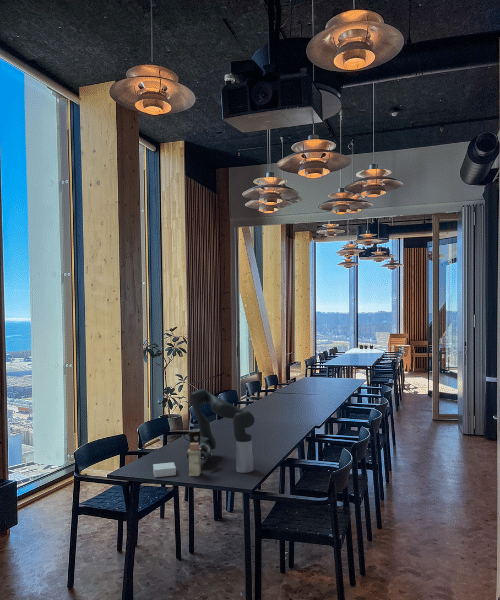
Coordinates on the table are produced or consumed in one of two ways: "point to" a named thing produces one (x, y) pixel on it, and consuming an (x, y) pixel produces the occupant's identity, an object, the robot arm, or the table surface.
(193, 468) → the beige rectangular pillar
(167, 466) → the block
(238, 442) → the robot arm
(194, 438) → the coffee mug
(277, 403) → the table surface
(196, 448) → the block
